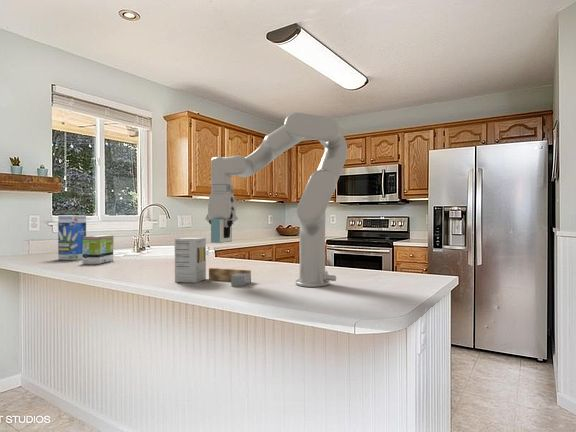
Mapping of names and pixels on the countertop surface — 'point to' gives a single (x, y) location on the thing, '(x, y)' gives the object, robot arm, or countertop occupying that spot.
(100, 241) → the tea box
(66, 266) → the countertop surface
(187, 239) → the supplement box
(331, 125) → the robot arm
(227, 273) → the rail
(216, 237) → the book
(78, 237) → the string lights box
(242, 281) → the grey rounded block
